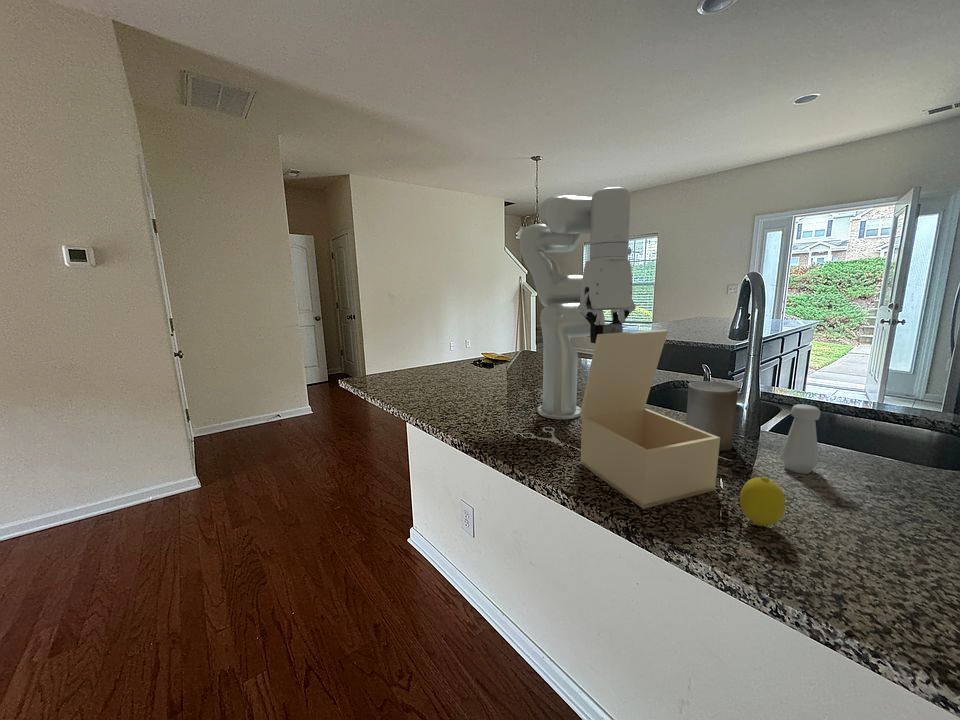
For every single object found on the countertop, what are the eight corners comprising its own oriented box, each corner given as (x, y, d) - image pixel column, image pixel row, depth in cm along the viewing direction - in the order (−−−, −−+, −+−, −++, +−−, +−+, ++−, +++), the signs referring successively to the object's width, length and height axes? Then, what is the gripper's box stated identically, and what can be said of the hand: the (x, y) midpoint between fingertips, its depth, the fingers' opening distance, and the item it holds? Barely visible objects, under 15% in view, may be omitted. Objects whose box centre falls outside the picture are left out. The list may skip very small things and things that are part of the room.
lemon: (766, 541, 56) (773, 490, 54) (729, 520, 61) (734, 473, 59) (790, 531, 58) (797, 481, 57) (751, 511, 63) (757, 465, 62)
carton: (580, 463, 81) (581, 417, 79) (642, 451, 86) (644, 408, 85) (643, 508, 64) (646, 452, 63) (714, 490, 70) (720, 437, 68)
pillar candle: (734, 440, 91) (740, 378, 88) (731, 455, 83) (737, 387, 81) (687, 432, 97) (692, 373, 94) (680, 446, 89) (685, 382, 86)
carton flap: (581, 417, 79) (561, 397, 86) (644, 407, 85) (621, 389, 91) (599, 335, 72) (576, 320, 78) (668, 330, 77) (640, 317, 83)
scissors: (545, 424, 104) (603, 449, 87) (545, 427, 104) (603, 452, 87) (512, 432, 98) (567, 461, 81) (512, 435, 98) (567, 464, 82)
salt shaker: (782, 459, 81) (790, 399, 79) (818, 468, 77) (828, 405, 74) (776, 469, 77) (785, 406, 75) (814, 479, 73) (824, 412, 70)
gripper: (629, 255, 86) (625, 338, 89) (563, 255, 80) (561, 343, 83) (654, 252, 79) (650, 342, 82) (584, 251, 73) (582, 347, 76)
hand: (605, 341), depth 83 cm, fingers closed on carton flap, 4 cm apart
